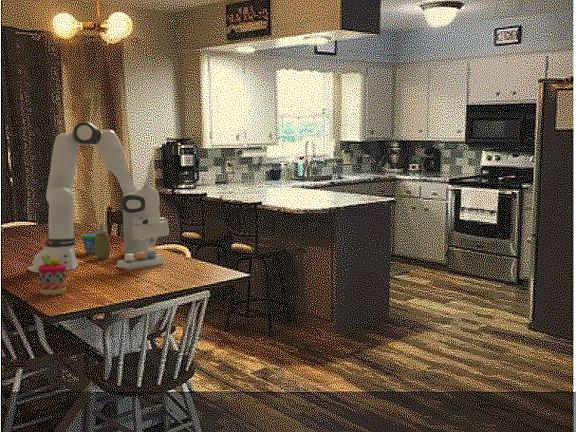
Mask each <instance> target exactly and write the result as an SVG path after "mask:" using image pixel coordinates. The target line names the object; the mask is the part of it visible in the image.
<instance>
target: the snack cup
mask: <svg viewBox="0 0 576 432" xmlns="http://www.w3.org/2000/svg"><path fill="white" fill-rule="evenodd" d="M96 235H97V232H96V233H95V232H94V233H85V234H82V235H81V239H82V242H83V243H82V244H83V247H84V252H85V254H86V255H95V252H94V248H95V236H96Z"/></svg>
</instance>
